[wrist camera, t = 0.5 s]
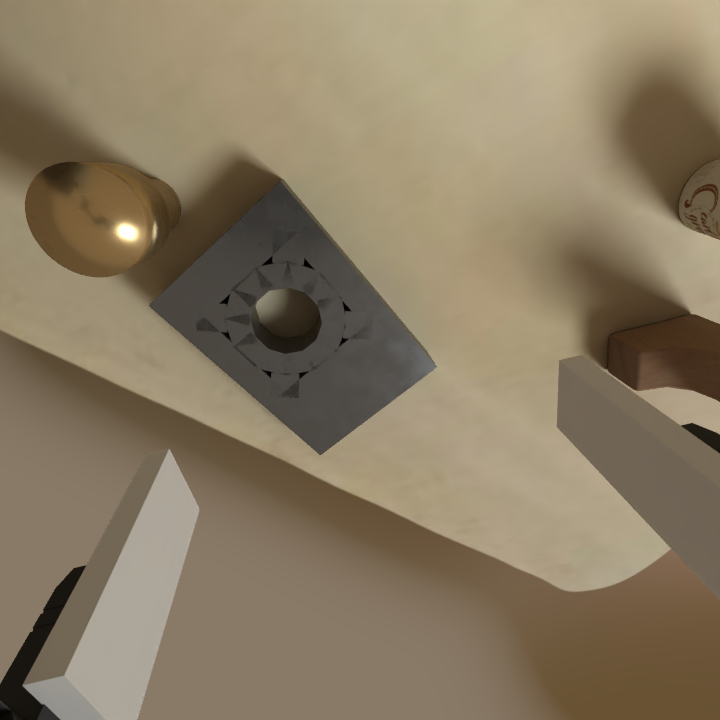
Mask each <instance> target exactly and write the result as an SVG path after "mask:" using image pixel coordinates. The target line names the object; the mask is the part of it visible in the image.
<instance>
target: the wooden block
mask: <svg viewBox="0 0 720 720" xmlns="http://www.w3.org/2000/svg"><path fill="white" fill-rule="evenodd" d="M608 371H609V373H611V374H612V375H613V376H615V377H616V378H618V379H619V380H621V381H622V382H623V383H625V384H626V385H628V386H629V387H631V388H632V389H634V390H636V391H642V390H649V389H656V388H663V387H671V388H678V389H686V390H693V391H695V392H698V393H700V394H703V395H706V396H708V397H711V398H713V399H716V400H717V401H719V402H720V324H718V323H715V322H713V321H710V320H708V319H705V318H703V317H700V316H697V315H694V314H691V315H687V316H683V317H679V318H675V319H671V320H667V321H663V322H659V323H655V324H651V325H647V326H643V327H639V328H635V329H631V330H627V331H623V332H619V333H615V334H612V335H610V337H609V351H608Z"/></svg>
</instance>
